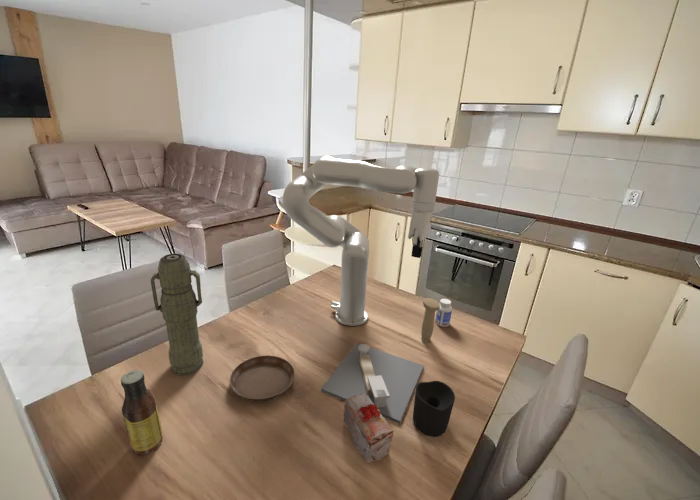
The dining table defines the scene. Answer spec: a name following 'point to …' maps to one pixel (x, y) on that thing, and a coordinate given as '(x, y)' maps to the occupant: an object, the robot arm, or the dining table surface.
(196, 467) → the dining table surface
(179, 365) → the thermos
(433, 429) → the pen holder
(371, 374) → the link
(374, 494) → the dining table surface
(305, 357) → the dining table surface
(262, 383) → the plant saucer
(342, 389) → the board
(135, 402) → the sauce bottle
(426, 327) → the handle
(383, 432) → the food item
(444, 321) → the pill bottle
